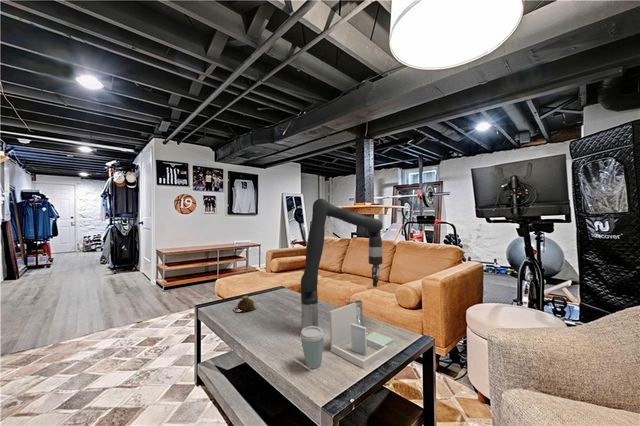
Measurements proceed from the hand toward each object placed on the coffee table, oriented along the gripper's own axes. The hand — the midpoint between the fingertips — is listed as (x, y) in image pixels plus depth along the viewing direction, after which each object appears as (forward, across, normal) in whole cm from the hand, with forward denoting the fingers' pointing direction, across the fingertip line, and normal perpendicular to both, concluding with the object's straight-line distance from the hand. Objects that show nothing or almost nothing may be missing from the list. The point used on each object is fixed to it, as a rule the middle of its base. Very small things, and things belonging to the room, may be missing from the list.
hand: (375, 284), depth 145 cm
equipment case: (+26, +23, -6) cm, 36 cm away
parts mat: (+26, +10, +2) cm, 28 cm away
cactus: (+28, -16, -93) cm, 99 cm away
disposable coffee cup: (+27, +38, -24) cm, 53 cm away
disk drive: (+27, -3, -12) cm, 30 cm away
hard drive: (+27, +23, -6) cm, 36 cm away
